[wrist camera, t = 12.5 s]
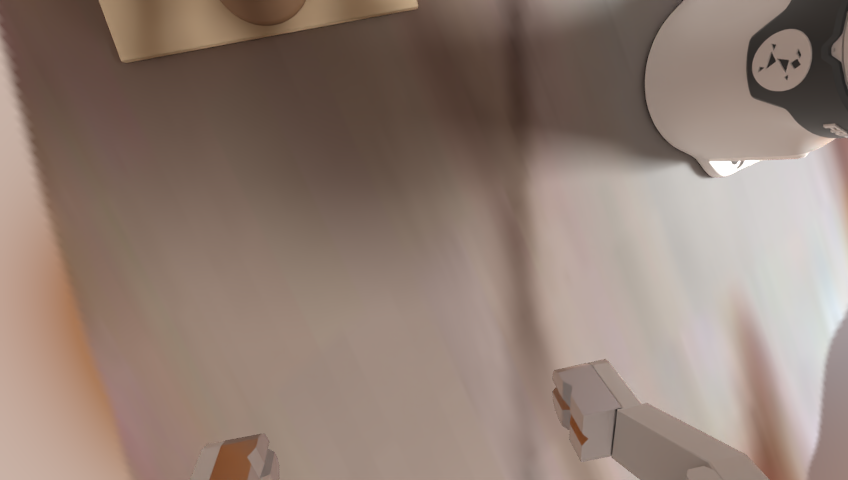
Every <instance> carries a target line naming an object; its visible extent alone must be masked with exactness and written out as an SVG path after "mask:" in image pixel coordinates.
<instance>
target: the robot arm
mask: <svg viewBox="0 0 848 480" xmlns="http://www.w3.org/2000/svg"><path fill="white" fill-rule="evenodd" d="M645 95H646V101H647V106H648V110H649V113H650V116H651V118H652V120H653V122H654V124H655V126H656V128H657V129H658V131H659V132H660V134H661V135H662V136H663V137H664V138H665V139H666V140H667V141H668V142H669V143H670V144H671V145H672V146H674V147H675V148H677V149H679V150H681V151H683V152H685V153H687V154H689V155H691V156H693V157H694V158H695V159H697V161H698V162H699V164H700V165H701V166H702V168H703V169H704V170H705V171H706V173H707V174H708V175H710V176H711V177H714V178H718V177H727V176H730V175H732V174H734V173H736V172H738V171H740V170H742V169H744V168H746V167H748V166H750V165H752V164H754V163H756V162H758V161H761V160H780V159H798V158H803V157H806V156H807V154H808V153H809V152H811V151H814V150H817V149H819V148H821V147H823V146H824V145H826V144H828V143H829V142H831V141H832V140H834V139H835V138H848V0H683V2H682V3H681V4H680V5H679V6H678V7H677V8H676V9H675V10H674V11H673V12H672V13H671V14H670V16H669V17H668V18H667V19H666V21H665V22H664V23H663V25H662V27H661V28H660V30H659V32H658V33H657V35H656V37H655V40H654V42H653V44H652V47H651V50H650V53H649V56H648V60H647V65H646V72H645ZM553 382H554V384H555V386H556V388H555V389H554V390H553V391H552V393H553V403H554V408H555V411H556V414H557V416H558V419H559V421H560V423H561V425H562V426H563V427H565V428H566V429H568V430H570V434H569V440H570V442H571V444H572V446H573V448H574V450H575V452H576V453H577V455H578V457H579V459H580V461H581V462H584V461H589V460H594V459H599V458H604V457H609V456H612V458H613V459H614V460H615V461H617V462H618V463H619V464H621V465H622V466H623V467H625V468H626V469H627V470H628V471H630V472H631V473H632V474H634V475H635V476H636V477H637V478H639V479H640V480H769V479H768V478H767V477H766V476H765V474H764V473H763V472H762V471H761V470H760V469H759V468H758V467H757V466H756V465H755V464H754V463H753V461H752V460H751V459H750V458H749V457H748V456H747V455H746V454H744V453H742V452H740V451H738V450H736V449H734V448H732V447H731V446H729V445H727V444H725V443H723V442H721V441H719V440H717V439H715V438H713V437H711V436H709V435H708V434H706V433H704V432H702V431H700V430H698V429H696V428H694V427H692V426H690V425H688V424H687V423H685V422H683V421H681V420H679V419H677V418H675V417H673V416H671V415H669V414H667V413H665V412H664V411H662V410H660V409H658V408H656V407H654V406H652V405H650V404H648V403H645V404H642V403H641V402H640V401H639V399H638V398H637V397H636V396H635V394H634V393H633V392H632V390H631V389H630V388H629V387H628V385H627V384H626V383H625V381H624V380H623V379H622V378H621V376H620V375H619V374H618V372H617V371H616V370H615V369H614V367H613V366H612V365H611V363H610V362H609V361H607V360H606V359H604V360H599V361H594V362H590V363H584V364H580V365H575V366H571V367H567V368H562V369H558V370H554V372H553ZM268 446H269V440H268V438H267V436H266V434H257V435H252V436H247V437H241V438H236V439H231V440H225V441H221V442H216V443H211V444H207V445H206V446H205V447H204V448H203V449H202V451H201V453H200V455H199V458H198V461H197V463H196V466H195V468H194V471H193V473H192V476H191V478H190V480H279V462H278V458H277V456H276V454H275V452H274V451H272V450H270V449H268Z"/></svg>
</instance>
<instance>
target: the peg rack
mask: <svg viewBox="0 0 848 480" xmlns="http://www.w3.org/2000/svg"><path fill="white" fill-rule="evenodd" d="M99 3H100V5H101V8H102V11H103V13H104V16H105V19H106V22H107V24H108V27H109V30H110V32H111V35H112V38H113V40H114V43H115V46H116V49H117V51H118V54H119V57H120V59H121V61H122V62H125V63H129V62H134V61H139V60H145V59H150V58H155V57H161V56H166V55H172V54H177V53H182V52H188V51H193V50H199V49H204V48H209V47H215V46H220V45H226V44H231V43H236V42H242V41H247V40H253V39H258V38H263V37H269V36H274V35H280V34H285V33H290V32H296V31H301V30H307V29H312V28H317V27H323V26H328V25H334V24H339V23H344V22H350V21H355V20H361V19H366V18H371V17H377V16H382V15H388V14H393V13H398V12H404V11H409V10H415V9H417V8H418V2H417V0H306V1H305V3H304V5H303V7H302V8H301V9H300V11H299V12H298V13H297V14H296V15H295V16H293V17H292V18H291V19H289V20H288V21H286V22H283V23H281V24H277V25H271V26H261V25H255V24H252V23H249V22H246V21H244V20H242V19H240V18H238V17H237V16H235V15H234V14H233V13H231V12H230V11H229V10H228V9H227V8H226V7H225V6H224V5H223V4H222V2H221V1H220V0H99Z"/></svg>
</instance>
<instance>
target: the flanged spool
mask: <svg viewBox="0 0 848 480" xmlns="http://www.w3.org/2000/svg"><path fill="white" fill-rule="evenodd" d="M220 1H221V2H222V4H223V5H224V6H225V7H226V8H227V9H228V10H229V11H230V12H231V13H233V14H234V15H235V16H237V17H238V18H240V19H242V20H244V21H246V22H249V23H252V24H255V25H261V26H271V25H277V24H281V23H283V22H286V21H288V20H289V19H291V18H292V17H293V16H295V15H296V14H297V13H298V12H299V11H300V9H301V8H302V7H303V5H304V3H305V1H306V0H220Z"/></svg>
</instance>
